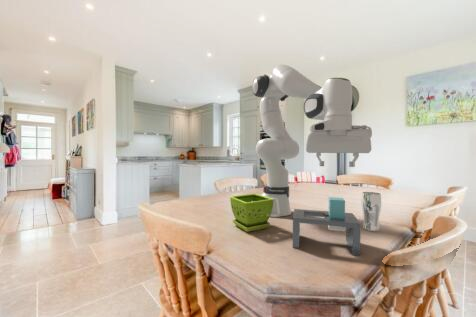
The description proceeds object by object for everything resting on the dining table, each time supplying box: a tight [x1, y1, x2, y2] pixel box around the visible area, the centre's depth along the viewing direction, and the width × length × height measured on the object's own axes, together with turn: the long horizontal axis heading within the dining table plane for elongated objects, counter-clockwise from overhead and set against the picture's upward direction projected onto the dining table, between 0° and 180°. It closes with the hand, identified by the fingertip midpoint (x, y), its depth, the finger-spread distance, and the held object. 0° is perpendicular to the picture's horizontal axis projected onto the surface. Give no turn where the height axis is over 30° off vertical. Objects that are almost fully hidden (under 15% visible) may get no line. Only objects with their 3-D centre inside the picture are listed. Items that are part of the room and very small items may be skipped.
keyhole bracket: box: [292, 208, 361, 257], centre depth 76 cm, size 20×12×10 cm, turn 73°
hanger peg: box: [327, 196, 346, 232], centre depth 74 cm, size 5×5×10 cm
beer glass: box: [361, 191, 382, 233], centre depth 91 cm, size 7×7×15 cm
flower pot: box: [229, 193, 273, 233], centre depth 93 cm, size 14×14×13 cm
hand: (336, 166), depth 75 cm, fingers open, 8 cm apart
